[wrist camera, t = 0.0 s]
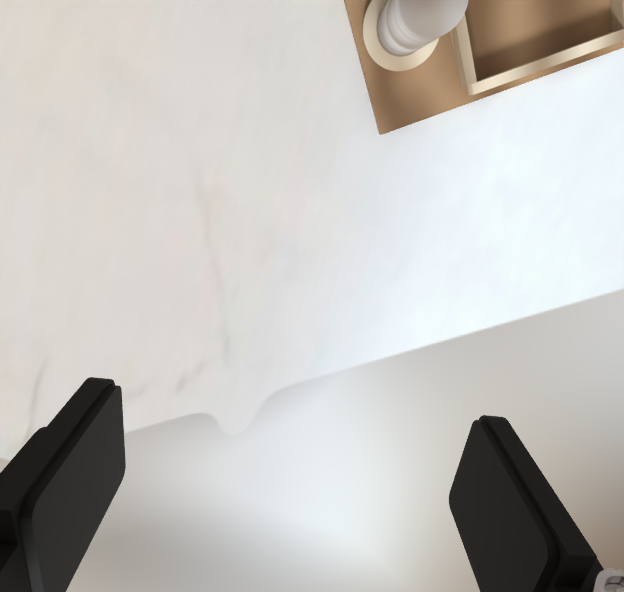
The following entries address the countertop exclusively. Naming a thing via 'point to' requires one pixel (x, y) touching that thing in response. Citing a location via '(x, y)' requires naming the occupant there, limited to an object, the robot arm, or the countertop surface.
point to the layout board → (471, 48)
